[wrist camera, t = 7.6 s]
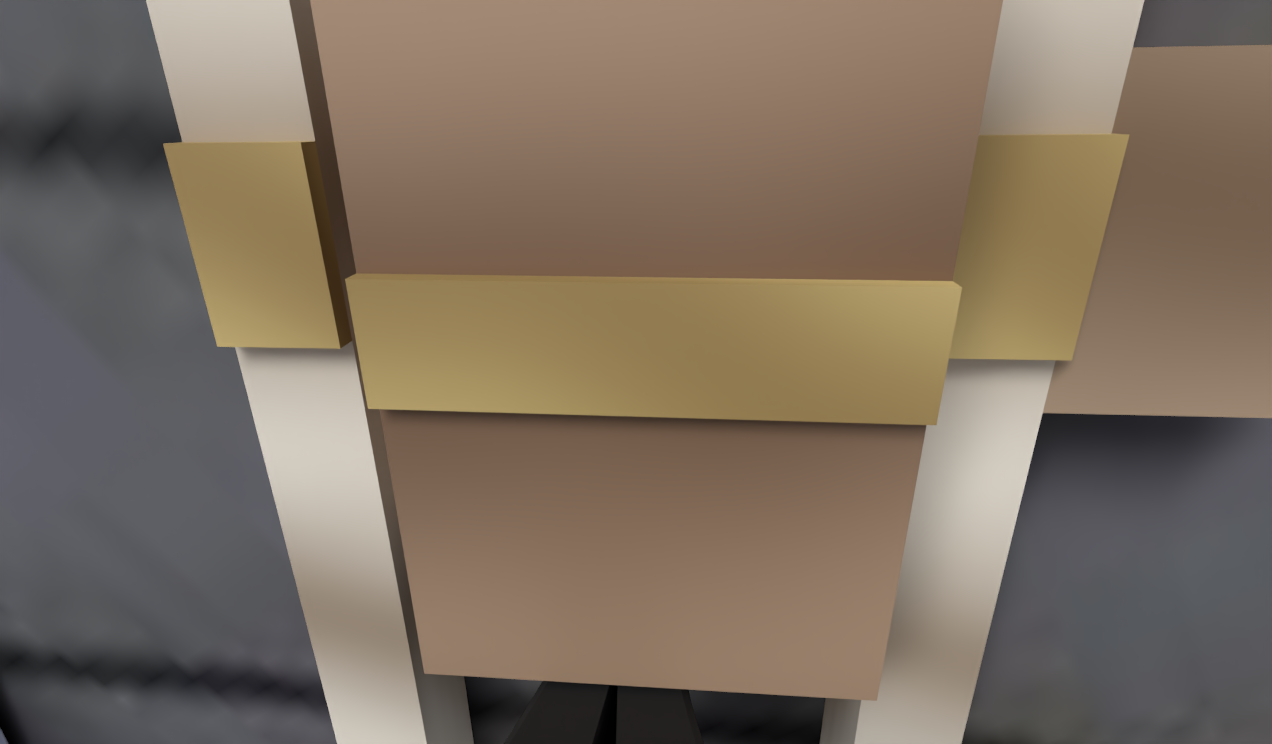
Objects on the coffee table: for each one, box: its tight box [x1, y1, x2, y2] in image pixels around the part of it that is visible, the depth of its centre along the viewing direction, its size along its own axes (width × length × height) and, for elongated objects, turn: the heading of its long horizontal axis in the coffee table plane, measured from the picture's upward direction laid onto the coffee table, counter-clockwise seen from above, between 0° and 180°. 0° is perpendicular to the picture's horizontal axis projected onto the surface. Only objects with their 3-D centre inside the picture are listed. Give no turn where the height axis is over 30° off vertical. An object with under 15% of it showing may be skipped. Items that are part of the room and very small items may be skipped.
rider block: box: [310, 0, 1003, 701], centre depth 7 cm, size 8×5×4 cm, turn 0°
